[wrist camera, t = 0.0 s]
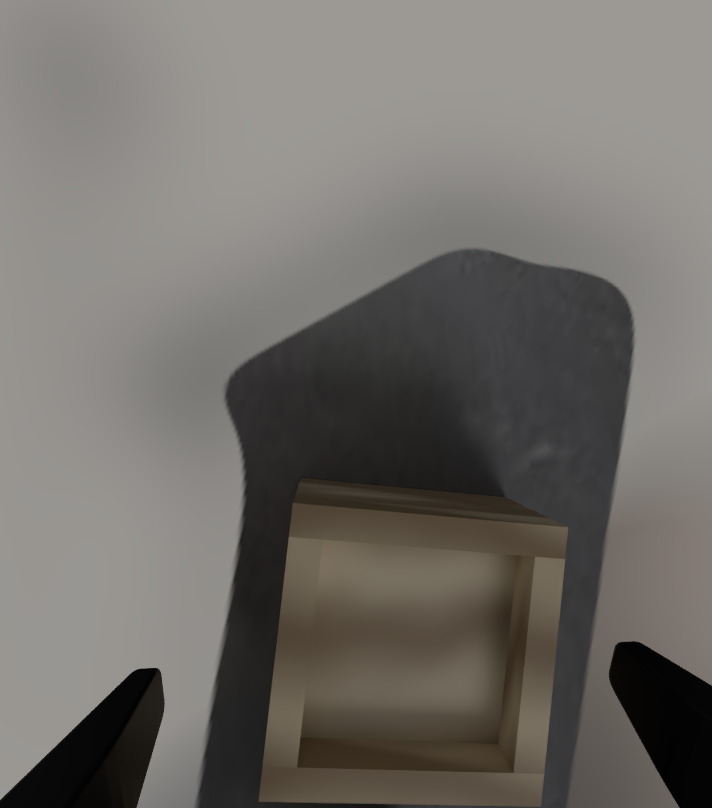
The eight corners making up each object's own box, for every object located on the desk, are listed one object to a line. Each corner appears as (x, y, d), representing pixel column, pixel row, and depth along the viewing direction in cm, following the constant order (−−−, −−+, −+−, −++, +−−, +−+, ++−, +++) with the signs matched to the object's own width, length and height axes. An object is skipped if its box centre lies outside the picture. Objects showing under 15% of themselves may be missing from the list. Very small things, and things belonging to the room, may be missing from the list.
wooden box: (484, 704, 23) (541, 806, 17) (275, 695, 22) (258, 801, 16) (505, 497, 24) (568, 527, 18) (300, 477, 22) (292, 503, 16)
